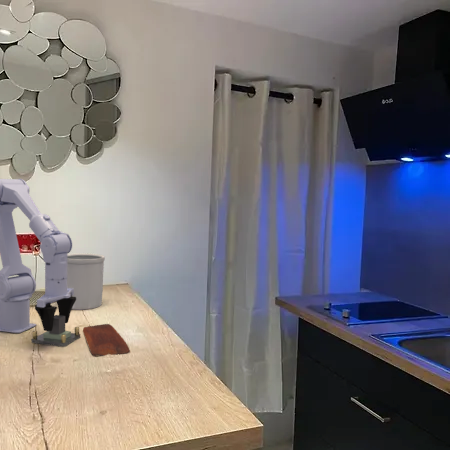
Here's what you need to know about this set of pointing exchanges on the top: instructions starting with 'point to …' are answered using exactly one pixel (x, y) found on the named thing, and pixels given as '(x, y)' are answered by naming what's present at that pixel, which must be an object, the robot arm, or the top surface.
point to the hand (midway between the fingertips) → (56, 326)
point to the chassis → (55, 342)
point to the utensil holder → (85, 279)
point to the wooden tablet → (105, 340)
